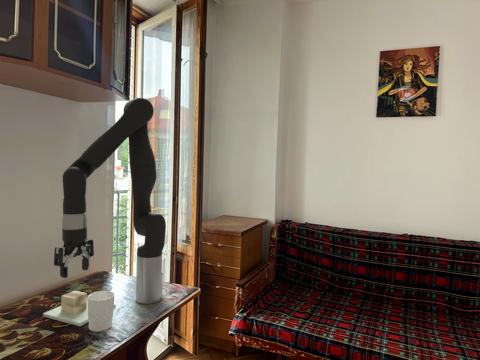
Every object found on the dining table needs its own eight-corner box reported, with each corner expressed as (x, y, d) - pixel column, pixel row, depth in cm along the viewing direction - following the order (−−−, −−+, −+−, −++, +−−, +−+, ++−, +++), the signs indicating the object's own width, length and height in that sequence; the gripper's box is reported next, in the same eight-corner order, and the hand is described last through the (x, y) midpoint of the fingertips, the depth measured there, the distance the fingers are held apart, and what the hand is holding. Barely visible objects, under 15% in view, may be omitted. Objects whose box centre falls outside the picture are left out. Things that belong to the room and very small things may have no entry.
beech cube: (74, 306, 120) (74, 290, 119) (86, 308, 118) (86, 293, 117) (61, 312, 114) (61, 295, 114) (73, 315, 112) (73, 298, 112)
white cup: (82, 326, 107) (83, 295, 107) (106, 318, 113) (107, 289, 113) (93, 335, 102) (94, 302, 102) (118, 327, 108) (119, 295, 107)
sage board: (81, 299, 128) (81, 296, 128) (115, 307, 122) (115, 304, 122) (43, 316, 113) (43, 313, 113) (80, 326, 107) (80, 323, 107)
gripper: (83, 221, 123) (83, 266, 124) (47, 229, 110) (48, 278, 111) (99, 223, 120) (99, 269, 121) (65, 231, 107) (65, 282, 108)
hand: (75, 273), depth 116 cm, fingers open, 8 cm apart
